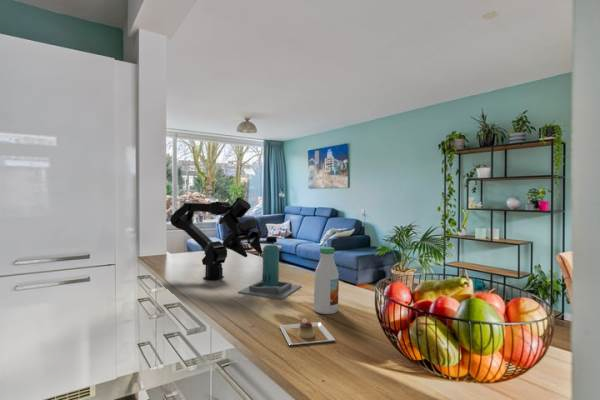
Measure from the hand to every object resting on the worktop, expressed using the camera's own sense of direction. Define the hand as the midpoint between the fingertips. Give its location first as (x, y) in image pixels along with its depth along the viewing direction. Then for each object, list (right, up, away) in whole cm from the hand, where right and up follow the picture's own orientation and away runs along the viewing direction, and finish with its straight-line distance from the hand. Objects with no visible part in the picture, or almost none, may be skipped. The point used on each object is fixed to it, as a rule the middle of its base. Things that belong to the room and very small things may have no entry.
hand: (254, 255), depth 131 cm
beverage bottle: (+7, -12, -5) cm, 15 cm away
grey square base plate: (+7, -13, -5) cm, 15 cm away
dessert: (+20, -14, -45) cm, 51 cm away
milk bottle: (+26, -13, -26) cm, 40 cm away
